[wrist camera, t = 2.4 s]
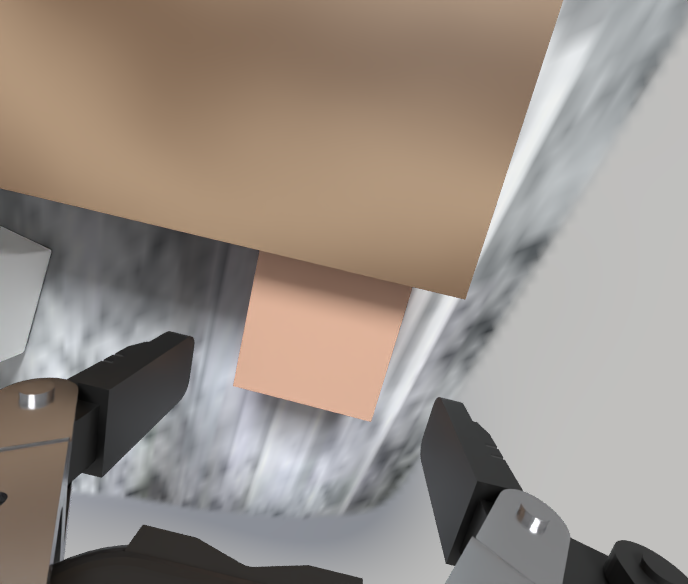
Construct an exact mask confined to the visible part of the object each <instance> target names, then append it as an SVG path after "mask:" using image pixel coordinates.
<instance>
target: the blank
mask: <svg viewBox="0 0 688 584" xmlns="http://www.w3.org/2000/svg"><path fill="white" fill-rule="evenodd" d="M411 290H412V287H411V286H407V285H402V284H398V283H394V282H390V281H386V280H381V279H377V278H373V277H369V276H365V275H361V274H356V273H352V272H348V271H344V270H340V269H336V268H331V267H327V266H323V265H319V264H315V263H310V262H306V261H302V260H298V259H294V258H290V257H285V256H281V255H277V254H273V253H269V252H264V251H260V250H259V256H258V261H257V266H256V271H255V276H254V281H253V286H252V291H251V297H250V302H249V307H248V312H247V317H246V322H245V327H244V333H243V338H242V343H241V348H240V353H239V358H238V363H237V369H236V374H235V379H234V384H233V386H235V387H239V388H243V389H247V390H251V391H254V392H258V393H262V394H266V395H270V396H274V397H278V398H281V399H285V400H289V401H293V402H297V403H301V404H305V405H308V406H312V407H316V408H320V409H324V410H328V411H331V412H335V413H339V414H343V415H347V416H351V417H355V418H358V419H362V420H366V421H370V422H371V420H372V417H373V414H374V410H375V407H376V404H377V401H378V397H379V394H380V391H381V388H382V384H383V381H384V378H385V375H386V371H387V368H388V365H389V362H390V359H391V355H392V352H393V349H394V346H395V342H396V339H397V336H398V333H399V329H400V326H401V323H402V320H403V316H404V313H405V310H406V307H407V303H408V300H409V297H410V294H411Z"/></svg>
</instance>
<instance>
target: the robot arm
mask: <svg viewBox="0 0 688 584" xmlns="http://www.w3.org/2000/svg"><path fill="white" fill-rule="evenodd" d="M193 351H194V338H193V337H191V336H187V335H183V334H179V333H175V332H171V331H168V332H166V333H164V334H162V335H160V336H159V337H157V338H155V339H153V340H152V341H150V342H143V343H139V344H135V345H131V346H128V347H126V348H125V349H123V350H121V351H119V352H117V353H116V354H115V355H112V356H110V357H108V358H106V359H104V361H100V362H98V363H97V364H95V365H93V366H91V367H89V368H87V369H85V370H84V371H82V372H80V373H78V374H76V375H74V376H72V377H70V378H69V379H67V380H65V379H60V378H37V379H30V380H25V381H21V382H18V383H14V384H12V385H9V386H7V387H5V388H3V389H1V390H0V584H363V579H362V578H358V577H354V576H350V575H346V574H341V573H337V572H334V571H330V570H325V569H321V568H317V567H313V566H309V565H303V566H271V567H249V566H245V565H243V564H241V563H239V562H237V561H236V560H234V559H232V558H231V557H229V556H227V555H226V554H224V553H222V552H220V551H219V550H217V549H215V548H213V547H212V546H210V545H208V544H207V543H205V542H203V541H201V540H200V539H198V538H195V537H191V536H187V535H183V534H179V533H175V532H171V531H167V530H163V529H159V528H155V527H151V526H147V525H143V526H142V527H141V528H140V529H139V531H138V532H137V534H136V535H135V536H134V538H133V539H132V541H131V542H130V544H129V545H120V546H113V547H106V548H101V549H96V550H93V551H88V552H85V553H82V554H79V555H76V556H73V557H70V558H67V559H65V560H64V554H65V545H66V537H67V528H68V520H69V512H70V503H71V495H72V484H73V480H74V479H75V478H76V477H77V476H79V475H80V474H81V473H85V474H89V475H93V476H97V477H101V478H102V477H103V476H104V475H105V474H106V473H107V472H108V471H109V470H110V469H111V468H112V467H113V466H114V465H115V464H116V463H117V462H118V461H119V460H120V459H121V458H122V457H123V456H124V455H125V454H126V453H127V452H128V451H129V450H130V449H131V448H133V447H134V446H135V445H136V444H137V443H138V442H139V441H140V440H141V439H142V438H143V437H144V436H145V435H146V434H147V433H148V432H149V431H150V430H151V429H152V428H153V427H154V426H155V425H156V424H157V423H158V422H159V421H160V420H161V419H162V418H163V417H164V416H165V415H166V414H167V413H168V412H169V411H170V410H171V409H172V408H173V407H174V406H175V405H176V404H177V403H178V402H179V401H180V400H181V399H182V397H183V396H184V394H185V392H186V390H187V387H188V384H189V379H190V372H191V365H192V358H193ZM420 455H421V462H422V466H423V471H424V474H425V479H426V483H427V487H428V491H429V496H430V500H431V504H432V508H433V512H434V516H435V520H436V525H437V528H438V533H439V537H440V541H441V545H442V549H443V553H444V558H445V562H446V564H449V565H454V566H455V567H454V569H453V571H452V572H451V574H450V576H449V578H448V579H447V581H446V583H445V584H688V578H687V577H686V576H685V575H684V574H683V573H682V572H681V571H680V570H679V569H677V568H676V567H675V566H674V565H672V564H671V563H670V562H669V561H667V560H666V559H664V558H663V557H661V556H660V555H658V554H657V553H655V552H653V551H652V550H650V549H648V548H646V547H644V546H641V545H639V544H637V543H634V542H631V541H626V540H621V541H618V542H616V543H615V545H614V547H613V549H612V551H611V553H610V555H609V556H607V555H605V554H603V553H601V552H599V551H597V550H595V549H593V548H590V547H589V546H586V545H584V544H582V543H580V542H578V541H576V540H574V539H572V538H570V533H569V530H568V528H567V526H566V525H565V523H564V521H563V520H562V519H561V518H560V517H559V516H558V514H557V513H556V512H555V511H554V510H553V509H551V508H550V507H549V506H548V505H547V504H545V503H544V502H542V501H541V500H539V499H538V498H536V497H534V496H533V495H530V494H529V493H526V492H524V491H523V490H522V488H521V487H520V485H519V483H518V481H517V480H516V478H515V477H514V475H513V473H512V471H511V470H510V468H509V466H508V465H507V463H506V461H505V460H503V456H502V454H501V453H500V451H499V449H497V446H496V444H495V443H494V441H493V439H492V438H491V436H490V434H489V433H488V432H487V431H486V430H484V429H483V428H482V427H481V426H480V425H479V424H478V423H477V422H473V421H472V419H471V417H470V416H469V414H468V412H467V410H466V408H465V406H464V405H463V403H461V402H457V401H453V400H449V399H445V398H440V397H438V398H437V399H436V400H435V402H434V405H433V408H432V411H431V414H430V417H429V420H428V423H427V426H426V429H425V433H424V436H423V439H422V443H421V453H420Z"/></svg>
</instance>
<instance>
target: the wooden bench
mask: <svg viewBox="0 0 688 584" xmlns="http://www.w3.org/2000/svg"><path fill="white" fill-rule="evenodd" d="M562 2H563V0H0V188H1V189H5V190H10V191H14V192H18V193H22V194H26V195H30V196H35V197H39V198H43V199H47V200H51V201H56V202H60V203H64V204H68V205H72V206H76V207H81V208H85V209H89V210H93V211H97V212H102V213H106V214H110V215H114V216H118V217H122V218H127V219H131V220H135V221H139V222H143V223H147V224H152V225H156V226H160V227H164V228H168V229H173V230H177V231H181V232H185V233H189V234H193V235H198V236H202V237H206V238H210V239H214V240H219V241H223V242H227V243H231V244H235V245H239V246H244V247H248V248H252V249H256V250H260V251H264V252H269V253H273V254H277V255H281V256H285V257H290V258H294V259H298V260H302V261H306V262H310V263H315V264H319V265H323V266H327V267H331V268H336V269H340V270H344V271H348V272H352V273H356V274H361V275H365V276H369V277H373V278H377V279H381V280H386V281H390V282H394V283H398V284H402V285H407V286H411V287H415V288H419V289H423V290H427V291H432V292H436V293H440V294H444V295H448V296H453V297H457V298H461V299H466V295H467V292H468V289H469V286H470V283H471V280H472V277H473V274H474V271H475V268H476V265H477V262H478V259H479V256H480V253H481V250H482V247H483V244H484V241H485V237H486V234H487V231H488V228H489V225H490V222H491V219H492V216H493V213H494V210H495V207H496V204H497V201H498V198H499V195H500V192H501V189H502V186H503V183H504V179H505V176H506V173H507V170H508V167H509V164H510V161H511V158H512V155H513V152H514V149H515V146H516V143H517V140H518V137H519V134H520V131H521V128H522V124H523V121H524V118H525V115H526V112H527V109H528V106H529V103H530V100H531V97H532V94H533V91H534V88H535V85H536V82H537V79H538V76H539V73H540V70H541V66H542V63H543V60H544V57H545V54H546V51H547V48H548V45H549V42H550V39H551V36H552V33H553V30H554V27H555V24H556V21H557V18H558V15H559V12H560V8H561V5H562Z"/></svg>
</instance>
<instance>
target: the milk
mask: <svg viewBox="0 0 688 584" xmlns="http://www.w3.org/2000/svg"><path fill="white" fill-rule="evenodd" d="M50 255H51V250H50V249H48V248H46V247H44V246H42V245H40V244H38V243H36V242H33V241H31V240H29V239H27V238H25V237H23V236H21V235H19V234H17V233H14V232H12V231H10V230H8V229H6V228H4V227H2V226H0V362H2V361H4V360H7V359H9V358H11V357H14V356H16V355H19V354H21V353H23V352H24V350H25V347H26V343H27V340H28V336H29V332H30V329H31V325H32V321H33V318H34V314H35V310H36V307H37V303H38V299H39V296H40V292H41V288H42V285H43V281H44V277H45V274H46V270H47V266H48V263H49V259H50Z"/></svg>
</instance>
